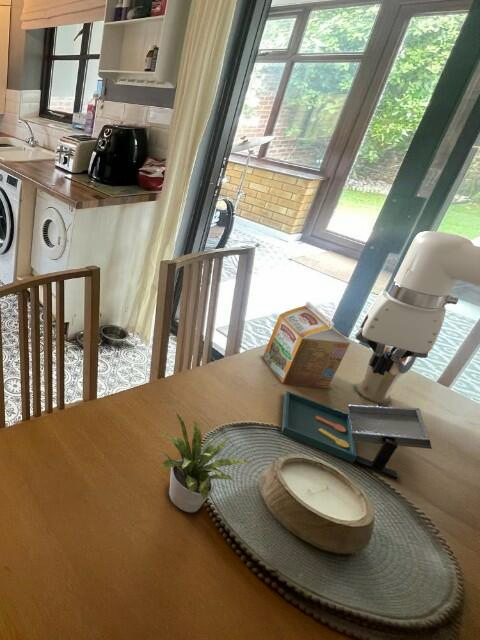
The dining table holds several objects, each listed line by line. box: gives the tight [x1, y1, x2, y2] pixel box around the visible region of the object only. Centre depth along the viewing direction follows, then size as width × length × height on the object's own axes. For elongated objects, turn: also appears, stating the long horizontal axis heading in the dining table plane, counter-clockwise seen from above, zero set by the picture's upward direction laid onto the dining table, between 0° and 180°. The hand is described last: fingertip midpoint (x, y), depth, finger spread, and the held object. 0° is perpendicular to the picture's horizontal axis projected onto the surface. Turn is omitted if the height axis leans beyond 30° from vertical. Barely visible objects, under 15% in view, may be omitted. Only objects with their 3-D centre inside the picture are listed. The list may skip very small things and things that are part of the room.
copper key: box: [315, 416, 346, 433], centre depth 93 cm, size 5×2×1 cm, turn 44°
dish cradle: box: [355, 402, 399, 481], centre depth 86 cm, size 6×14×8 cm, turn 143°
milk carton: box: [262, 301, 351, 389], centre depth 106 cm, size 11×11×19 cm
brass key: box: [318, 428, 349, 448], centre depth 89 cm, size 5×2×1 cm, turn 29°
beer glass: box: [356, 345, 418, 404], centre depth 99 cm, size 7×7×15 cm
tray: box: [281, 390, 358, 464], centre depth 92 cm, size 12×14×2 cm
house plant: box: [155, 408, 251, 513], centre depth 74 cm, size 14×14×16 cm
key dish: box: [347, 404, 433, 450], centre depth 85 cm, size 11×10×2 cm
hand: (377, 370), depth 86 cm, fingers closed
